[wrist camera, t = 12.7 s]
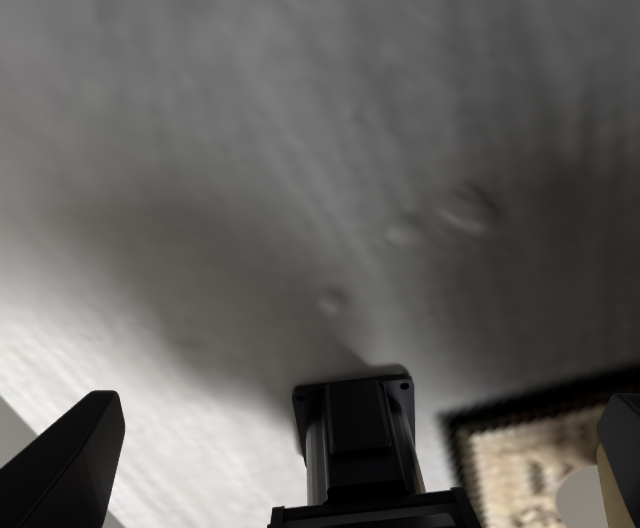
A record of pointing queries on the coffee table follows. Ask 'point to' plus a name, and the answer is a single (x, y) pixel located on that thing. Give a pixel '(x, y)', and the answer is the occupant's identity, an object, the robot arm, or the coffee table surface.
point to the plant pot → (611, 494)
